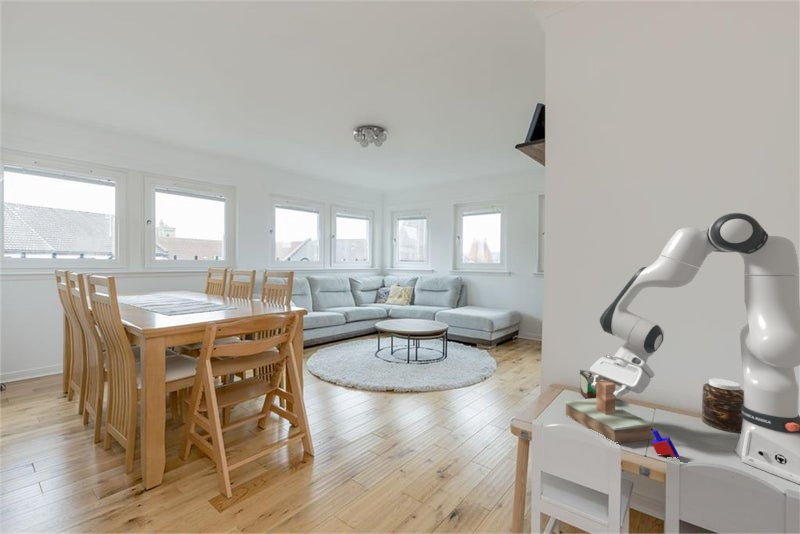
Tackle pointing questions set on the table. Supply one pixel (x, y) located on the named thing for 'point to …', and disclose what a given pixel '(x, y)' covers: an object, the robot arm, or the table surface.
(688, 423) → the table surface
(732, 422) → the jar
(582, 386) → the food container
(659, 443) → the toy building block
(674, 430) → the table surface
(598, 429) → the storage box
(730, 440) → the table surface
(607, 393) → the tall block
